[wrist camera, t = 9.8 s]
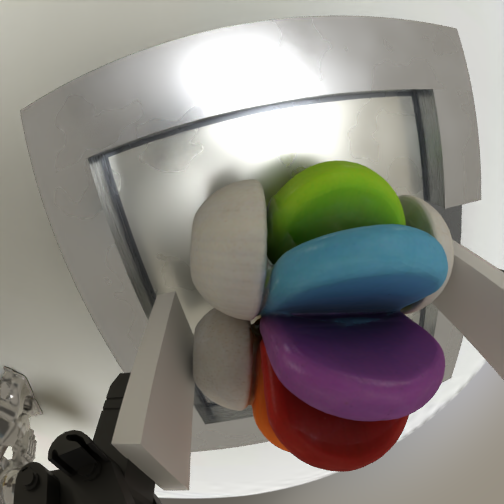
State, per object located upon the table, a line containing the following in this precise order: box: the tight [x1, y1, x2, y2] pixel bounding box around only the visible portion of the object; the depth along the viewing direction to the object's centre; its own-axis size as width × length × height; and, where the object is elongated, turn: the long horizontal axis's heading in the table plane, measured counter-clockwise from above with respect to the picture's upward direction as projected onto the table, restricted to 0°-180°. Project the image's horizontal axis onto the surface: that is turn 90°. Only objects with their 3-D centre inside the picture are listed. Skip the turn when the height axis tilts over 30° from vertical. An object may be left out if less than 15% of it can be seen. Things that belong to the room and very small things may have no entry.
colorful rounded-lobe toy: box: [190, 160, 454, 471], centre depth 8 cm, size 8×10×7 cm
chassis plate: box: [20, 16, 481, 452], centre depth 13 cm, size 20×18×2 cm
